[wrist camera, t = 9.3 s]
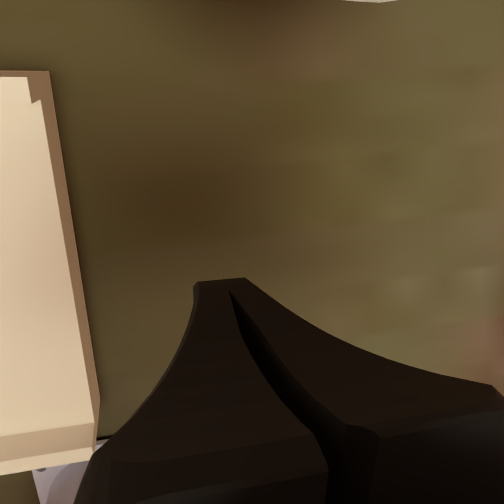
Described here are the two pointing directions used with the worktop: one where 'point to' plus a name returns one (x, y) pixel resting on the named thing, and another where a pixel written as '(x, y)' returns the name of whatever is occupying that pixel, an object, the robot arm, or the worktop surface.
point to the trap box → (40, 291)
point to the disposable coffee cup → (371, 0)
